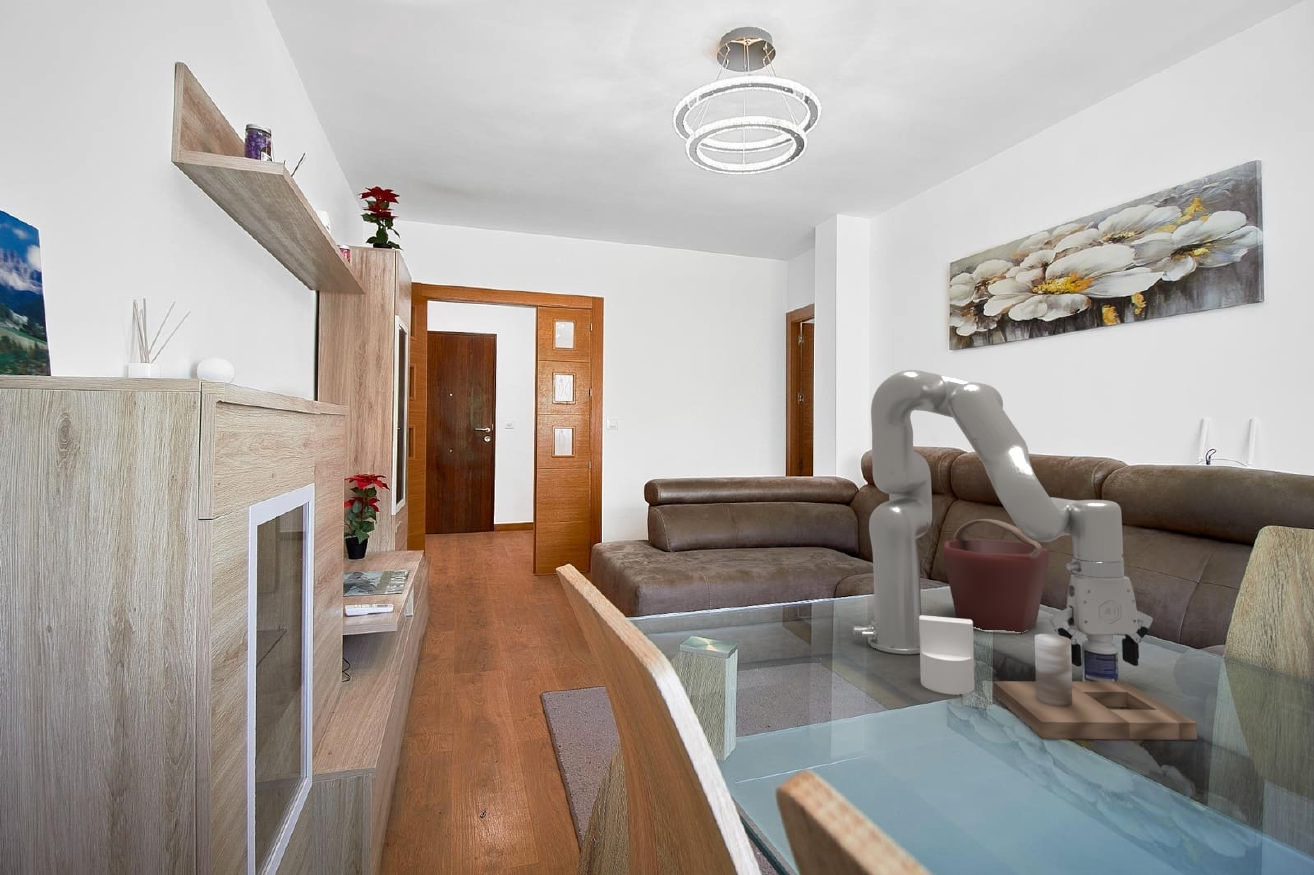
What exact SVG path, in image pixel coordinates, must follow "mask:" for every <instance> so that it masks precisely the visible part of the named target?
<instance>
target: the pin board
mask: <svg viewBox="0 0 1314 875" xmlns="http://www.w3.org/2000/svg"><path fill="white" fill-rule="evenodd" d="M1034 658H1035V664H1034V665H1035V680H1034V681H1032V680H1030V681H1029V680H1028V681H1026V680H1025V681H1022V680H1021V681H1019V680H1018V681H1017V680H1016V681H1013V680H1012V681H1011V680H1010V681H1007V680H1003V681H1002V680H1001V681H1000V680H999V681H998V680H997V681H993V682H992V689H993V690H992V691H993V694H992V695H995V698H996V699H997V698H998V699H1000V701H1001V702H1002V703H1004V704H1005V705H1006V706H1007V707H1008V708H1010V710H1011V711H1010V710H1009V711H1010V712H1011V713H1012V714H1014V713H1015V714H1016V715H1017V716H1018V717H1020V718H1021V719H1020V718H1019V719H1020V720H1021V721H1022V723H1024V722H1025V723H1026V724H1025V723H1024V724H1025V725H1027V726H1028V727H1029V726H1030V727H1031V728H1032V729H1033V730H1034V732H1035V733H1036V734H1037V735H1038V736H1039V737H1040V738H1041V739H1043V740H1044V739H1045V740H1048V739H1050V740H1051V739H1052V740H1158V741H1160V740H1162V741H1163V740H1164V741H1165V740H1173V741H1175V740H1176V741H1177V740H1178V741H1180V740H1183V741H1185V740H1186V741H1188V740H1189V741H1192V740H1193V741H1197V740H1198V733H1197V731H1198V728H1197V722H1196V721H1194V720H1192V719H1190V718H1189V717H1187V716H1185V715H1183V714H1182V713H1180V712H1178V711H1177V710H1175V709H1173V708H1171V707H1169V706H1168V705H1165V704H1164V703H1162V702H1160V701H1159V700H1157V699H1155V698H1154V697H1152V696H1151V695H1148V694H1147V693H1145V692H1143V691H1141V690H1140V689H1138V688H1136V687H1134V686H1133V685H1131V684H1130V683H1128V682H1126V681H1118V682H1093V681H1083V680H1081V681H1073V676H1072V675H1073V673H1072V672H1073V668H1072V666H1073V664H1072V662H1071V640H1070V639H1069V638H1066V637H1063V636H1060V635H1059V634H1058V635H1057V634H1052V633H1051V634H1050V633H1039V634H1035V635H1034ZM998 699H997V700H998ZM1000 701H999V702H1000ZM1001 702H1000V703H1001ZM1002 703H1001V704H1002ZM1004 704H1003V705H1004ZM1005 705H1004V706H1005ZM1006 706H1005V707H1006ZM1007 707H1006V708H1007ZM1008 708H1007V709H1008ZM1109 708H1128V709H1109ZM1015 714H1014V715H1015ZM1016 715H1015V716H1016ZM1017 716H1016V717H1017ZM1030 727H1029V728H1030ZM1031 728H1030V729H1031ZM1032 729H1031V730H1032ZM1033 730H1032V731H1033Z"/></svg>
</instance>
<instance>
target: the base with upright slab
mask: <svg viewBox="0 0 1314 875" xmlns="http://www.w3.org/2000/svg"><path fill="white" fill-rule="evenodd" d="M919 633H920V653H919V665H920V667H919V668H920V669H919V670H920V673H919V674H920V684H921V685H922V686H923V687H924V688H926V689H927V690H930V691H933V692H937V693H940V694H945V695H953V696H954V695H957V696H958V695H959V694H962V695H967V694H972V693H973V692H974V691H975V655H974V654H975V653H974V652H975V651H974V629H973V621H972V620H970V619H959V618H957V617H947V616H934V615H925V614H924V615H923V614H921V616H920V617H919ZM973 690H974V691H973ZM972 691H973V692H972ZM959 696H960V695H959Z"/></svg>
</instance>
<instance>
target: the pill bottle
mask: <svg viewBox="0 0 1314 875" xmlns="http://www.w3.org/2000/svg"><path fill="white" fill-rule="evenodd" d="M1085 638H1086V639H1085V640H1083V641H1082V643H1081V661H1082V665H1081V678H1082V680H1081V681H1093V682H1119V651H1118V647H1117V646H1116V645H1115V644H1113V643H1112V642H1113V639H1114V635H1086V634H1085Z"/></svg>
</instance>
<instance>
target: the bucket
mask: <svg viewBox="0 0 1314 875" xmlns="http://www.w3.org/2000/svg"><path fill="white" fill-rule="evenodd" d="M981 523H982V524H983V523H987V524H991V525H993V526H995V527H998V528H1001V529H1003V530H1004V531H1006V532H1009V533H1010V534H1011V535H1013V536H1014V537H1015V538H1016V539H1017V540H1018V541H1011V540H999V539H998V540H997V539H985V538H976V539H975V538H974V539H972V538H971V539H966V538H965V536H966V535H967V534H968V532H969V531H970V529H972V528H973V527H975V526H977V525H979V524H981ZM1049 558H1050V556H1049V548H1045V547H1042V545H1041V543H1040V542H1038V541H1034V540H1032V539H1030V538H1028V537H1027V536H1025V535H1024V534H1023V533H1022V532H1021V531H1020V530H1019V528H1018V527H1017V526H1016V525H1015V526H1014V525H1012V524H1010V523H1008V522H1005V521H1001V520H998V519H990V518H982V519H981V518H980V519H978V518H977V519H973V520H971V521H970V520H969V521H968V522H965V523H964V524H962V525H961V526H960V527H958V528H957V530H956V531H955V533H954V534H953V540H945V541H944V545H943V562H944V566H945V571H946V576H947V579H948V580H947V581H948V586H949V589H950V594H951V598H952V602H953V608H954V611H955V615H956V617H955V618H959V619H970V620H972V621H973V627H976V628H980V629H982V630H1006V631H1015V632H1021V633H1022V632H1024V631H1026V630H1029V631H1031V630H1033V629H1035V628H1036V627H1037V620H1038V616H1039V612H1040V606H1041V602H1042V596H1043V592H1044V587H1045V582H1046V578H1047V577H1046V576H1047V572H1048V566H1049V563H1050V560H1049Z"/></svg>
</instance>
